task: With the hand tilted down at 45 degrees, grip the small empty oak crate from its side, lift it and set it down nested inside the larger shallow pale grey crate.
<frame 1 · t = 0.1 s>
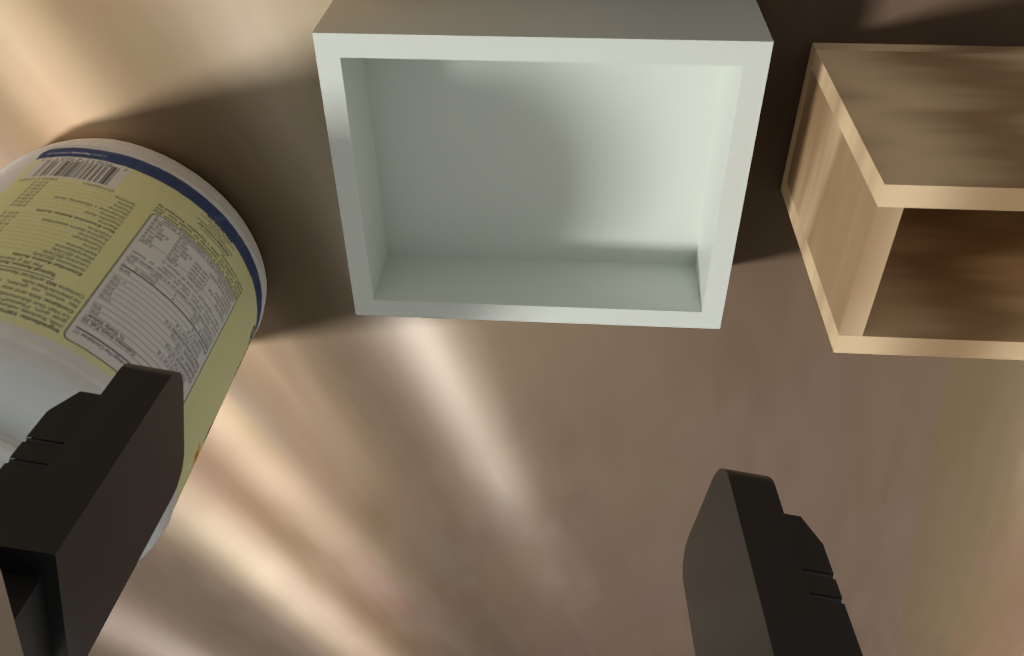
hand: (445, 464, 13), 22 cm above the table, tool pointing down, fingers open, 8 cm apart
supplement tub: (142, 247, 39), on the table
oak crate: (916, 122, 33), on the table
grey crate: (542, 143, 34), on the table
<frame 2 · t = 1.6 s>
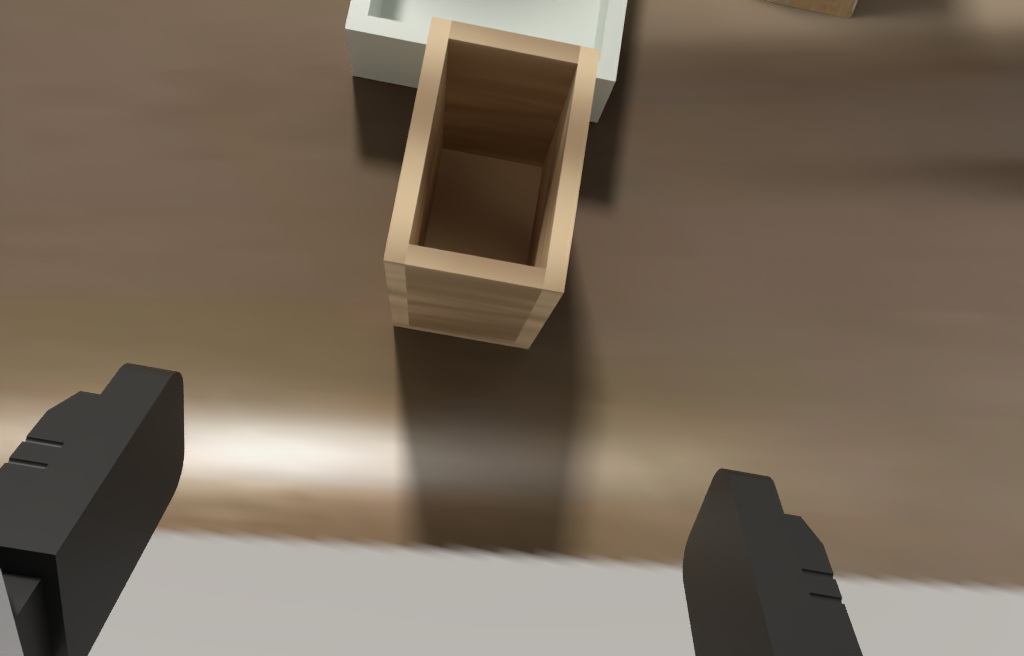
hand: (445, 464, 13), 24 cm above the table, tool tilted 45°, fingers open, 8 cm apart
oak crate: (478, 241, 39), on the table
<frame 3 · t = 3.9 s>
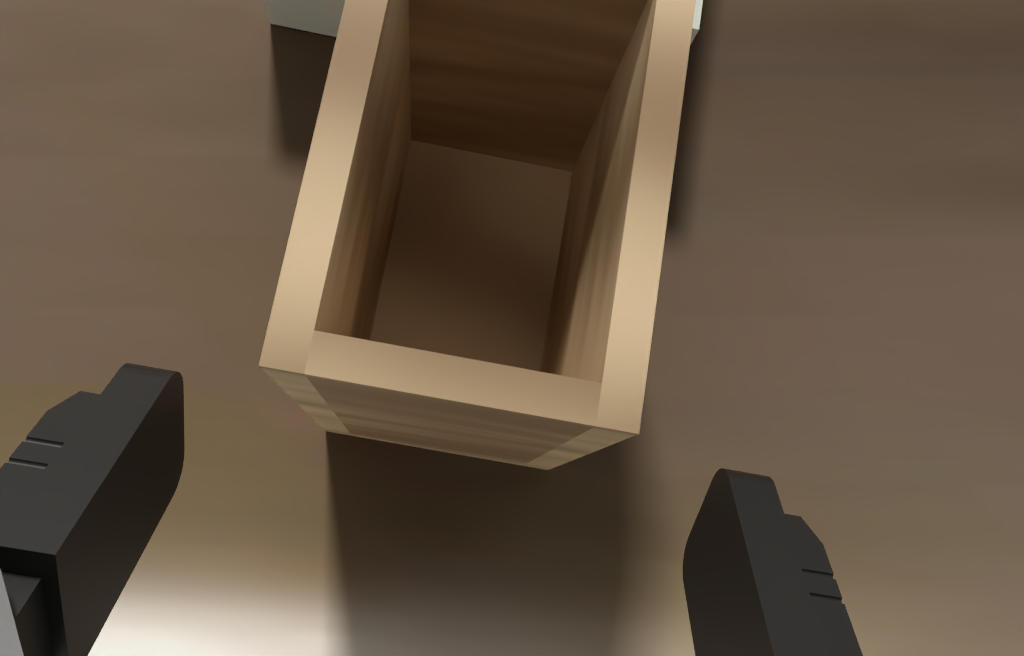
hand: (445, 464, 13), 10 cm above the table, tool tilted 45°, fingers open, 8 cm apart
oak crate: (467, 290, 24), on the table
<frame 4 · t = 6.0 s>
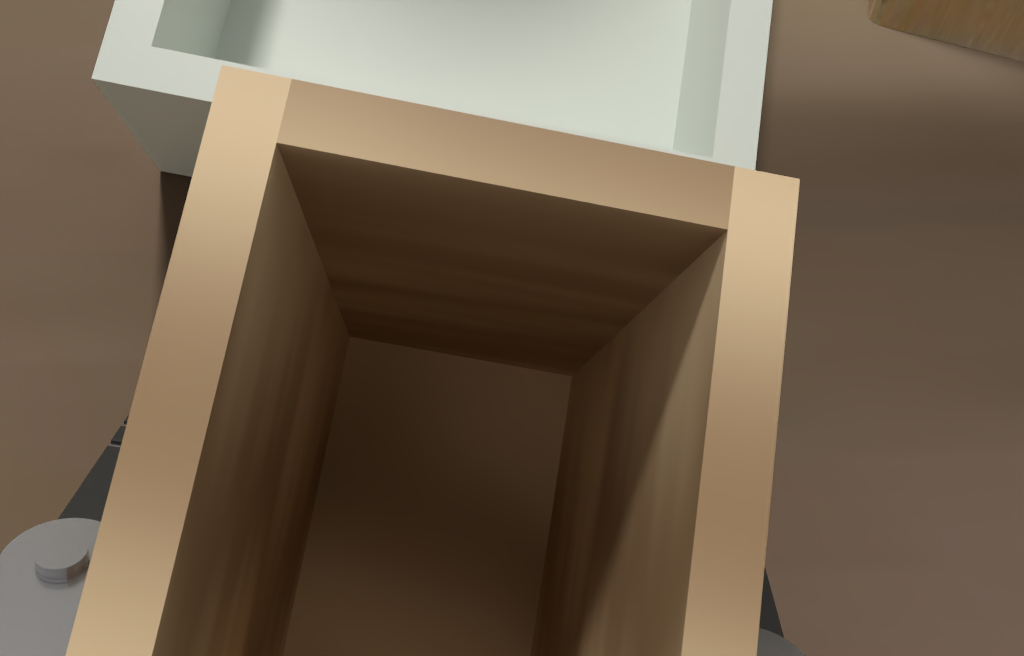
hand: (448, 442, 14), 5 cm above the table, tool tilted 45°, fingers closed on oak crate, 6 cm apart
oak crate: (427, 545, 18), on the table, touching gripper
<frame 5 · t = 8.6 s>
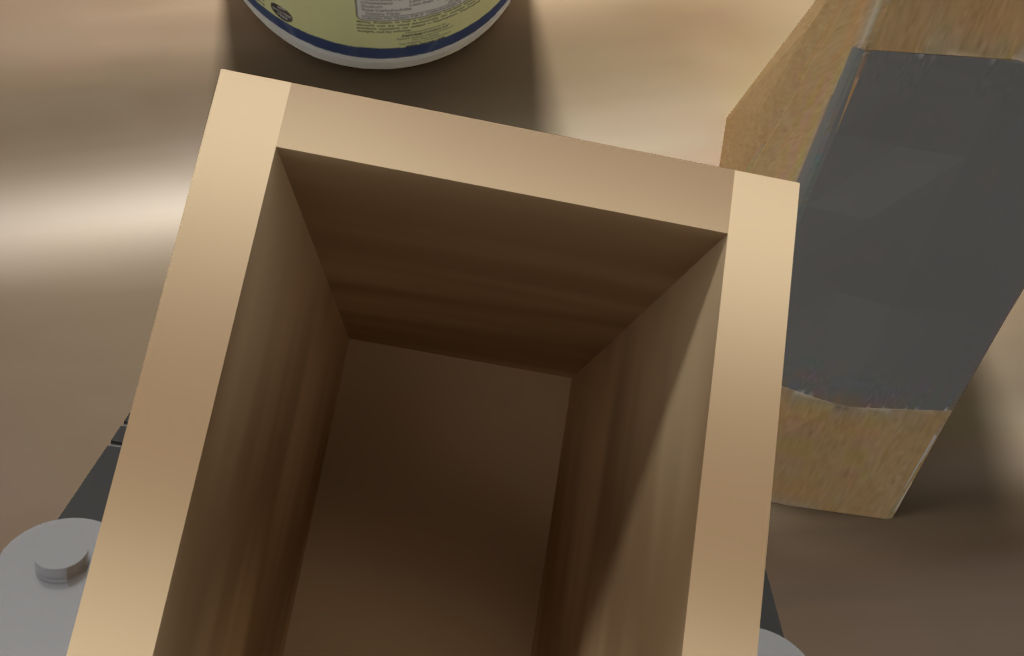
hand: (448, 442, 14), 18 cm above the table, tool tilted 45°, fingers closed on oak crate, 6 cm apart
sandwich container: (802, 311, 34), on the table
oak crate: (427, 547, 18), point 13 cm above the table, touching gripper
when the fingers open (7 cm above the table, at t = 11.5 s): oak crate drops 2 cm, resting on grey crate.
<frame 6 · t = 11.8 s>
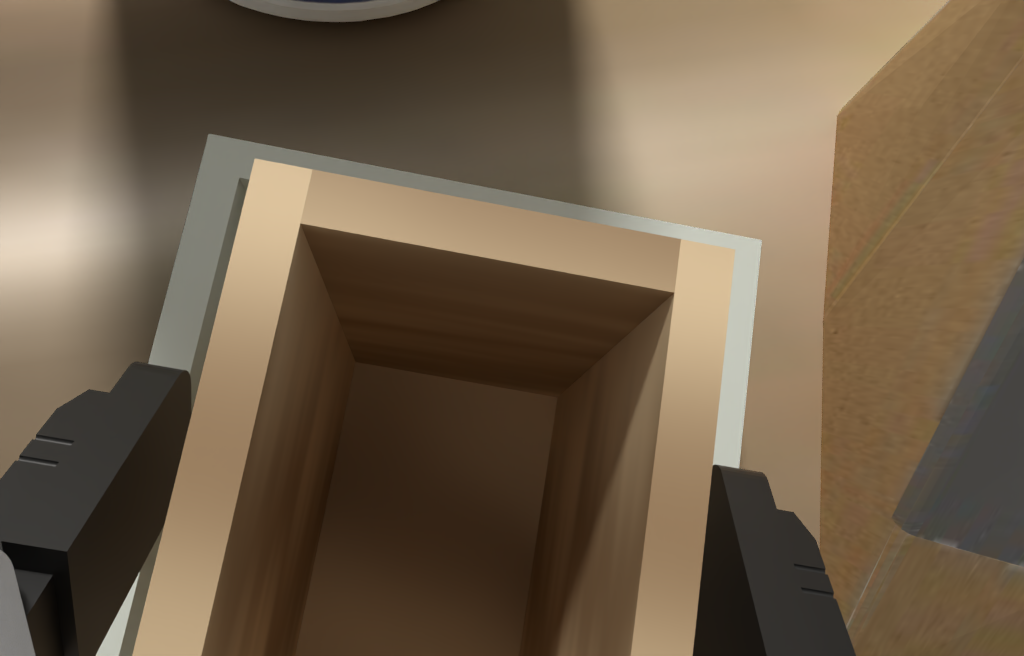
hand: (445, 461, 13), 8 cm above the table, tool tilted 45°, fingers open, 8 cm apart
sandwich container: (969, 403, 23), on the table
oak crate: (426, 551, 19), point 1 cm above the table, touching grey crate
grey crate: (425, 543, 20), on the table
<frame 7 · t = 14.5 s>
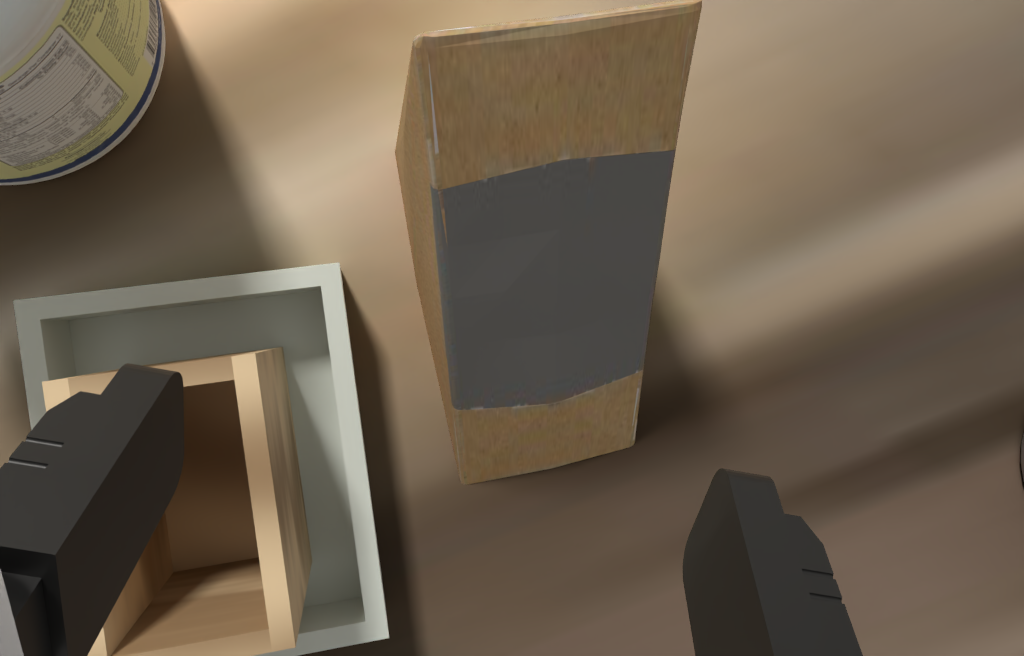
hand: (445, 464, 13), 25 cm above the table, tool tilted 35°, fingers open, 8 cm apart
supplement tub: (15, 42, 35), on the table
sandwich container: (515, 302, 39), on the table
oak crate: (222, 465, 36), point 1 cm above the table, touching grey crate
grey crate: (223, 459, 36), on the table
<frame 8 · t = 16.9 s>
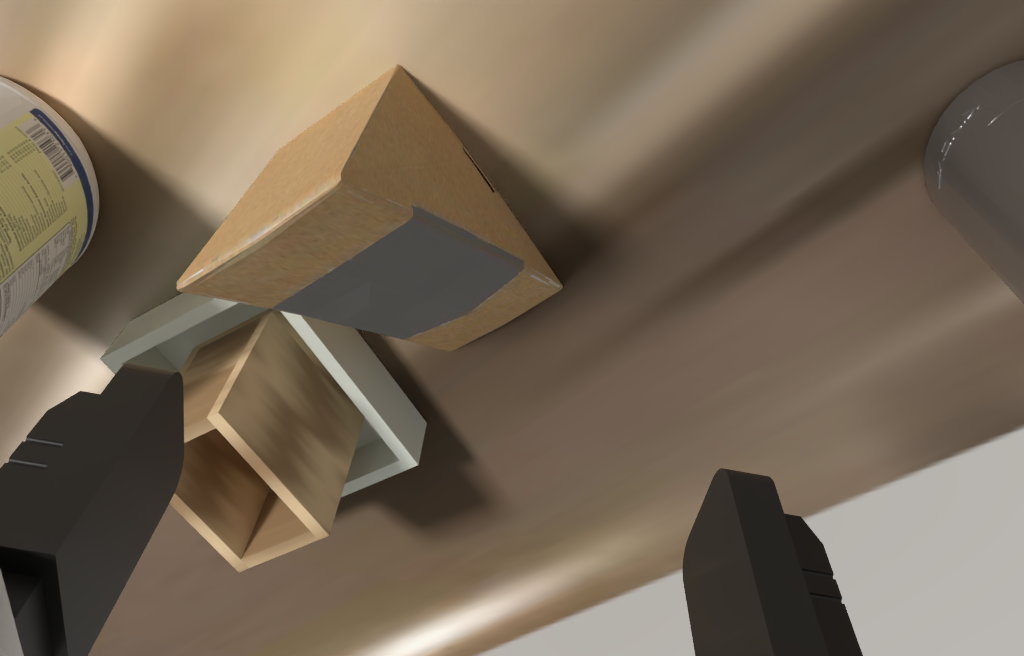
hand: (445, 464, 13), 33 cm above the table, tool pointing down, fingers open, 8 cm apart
sandwich container: (427, 220, 48), on the table
oak crate: (281, 382, 52), point 1 cm above the table, touching grey crate
grey crate: (282, 373, 53), on the table
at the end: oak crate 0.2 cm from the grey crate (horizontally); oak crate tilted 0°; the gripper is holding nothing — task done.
